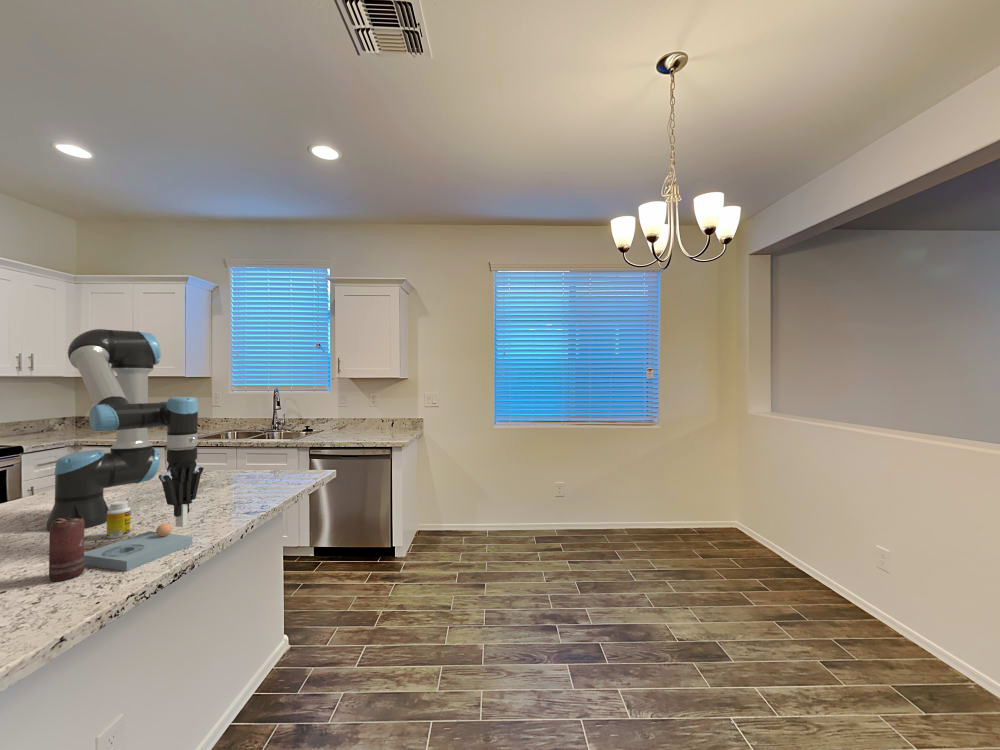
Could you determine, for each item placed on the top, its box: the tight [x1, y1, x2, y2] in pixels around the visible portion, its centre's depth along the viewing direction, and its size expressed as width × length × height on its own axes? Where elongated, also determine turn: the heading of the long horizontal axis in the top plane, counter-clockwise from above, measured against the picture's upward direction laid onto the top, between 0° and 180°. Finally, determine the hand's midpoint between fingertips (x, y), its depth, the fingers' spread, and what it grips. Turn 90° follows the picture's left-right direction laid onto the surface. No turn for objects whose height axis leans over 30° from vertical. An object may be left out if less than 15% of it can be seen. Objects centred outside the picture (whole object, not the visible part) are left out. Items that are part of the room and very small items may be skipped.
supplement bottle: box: [106, 500, 132, 539], centre depth 136 cm, size 6×6×10 cm
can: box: [48, 516, 85, 582], centre depth 108 cm, size 6×6×14 cm
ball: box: [155, 523, 172, 536], centre depth 129 cm, size 4×4×4 cm
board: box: [84, 531, 193, 572], centre depth 122 cm, size 16×18×2 cm
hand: (181, 525), depth 134 cm, fingers closed
